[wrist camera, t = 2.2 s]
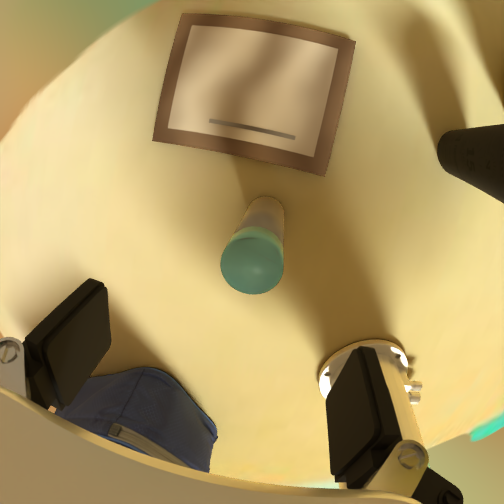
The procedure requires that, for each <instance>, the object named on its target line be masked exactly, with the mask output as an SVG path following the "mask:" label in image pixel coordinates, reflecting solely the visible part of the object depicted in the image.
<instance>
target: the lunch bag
mask: <svg viewBox="0 0 504 504" xmlns="http://www.w3.org/2000/svg"><path fill="white" fill-rule="evenodd" d="M54 414H55V415H57V416H59V417H61V418H63V419H65V420H67V421H69V422H71V423H73V424H75V425H77V426H79V427H81V428H83V429H85V430H87V431H89V432H91V433H93V434H95V435H98V436H100V437H102V438H104V439H107V440H109V441H111V442H114V443H116V444H119V445H121V446H124V447H126V448H129V449H131V450H134V451H137V452H139V453H142V454H145V455H148V456H151V457H154V458H157V459H160V460H163V461H166V462H169V463H172V464H176V465H179V466H183V467H186V468H190V469H194V470H198V471H202V472H206V473H209V470H210V468H209V466H210V458H211V453H212V449H213V444H214V443H215V442H216V440H217V438H218V436H217V429H216V427H215V425H214V423H213V422H212V421H211V420H210V419H209V418H208V417H207V416H206V415H205V414H204V413H203V412H202V411H201V410H200V408H199V407H198V406H197V405H196V404H195V403H194V402H193V401H192V399H191V398H190V397H189V396H188V395H187V393H186V392H185V391H184V390H183V388H182V387H181V386H180V385H179V384H178V383H177V382H176V381H175V380H174V379H173V378H172V377H171V376H169V375H168V374H166V373H165V372H163V371H161V370H158V369H155V368H149V367H142V368H136V369H131V370H128V371H124V372H121V373H117V374H113V375H111V374H110V375H106V376H97V377H92V378H88V379H87V381H86V382H85V384H84V385H83V386H82V388H81V389H80V391H79V392H78V394H77V395H76V397H75V398H74V400H73V401H72V403H71V404H70V405H69V406H65V407H64V409H63V410H62V411H60V410H59V409H56V411H55V413H54Z"/></svg>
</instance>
